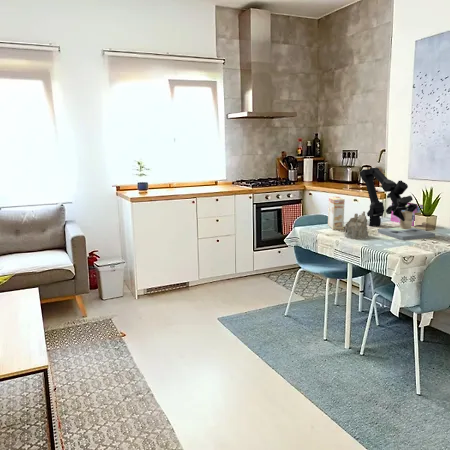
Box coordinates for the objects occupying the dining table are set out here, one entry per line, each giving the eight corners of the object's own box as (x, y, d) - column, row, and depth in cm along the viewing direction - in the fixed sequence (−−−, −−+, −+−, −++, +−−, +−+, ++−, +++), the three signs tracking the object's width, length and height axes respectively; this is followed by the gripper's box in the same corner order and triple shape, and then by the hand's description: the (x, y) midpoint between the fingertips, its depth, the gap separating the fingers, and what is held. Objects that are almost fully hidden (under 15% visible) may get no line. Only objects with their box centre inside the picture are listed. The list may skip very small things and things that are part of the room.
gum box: (388, 220, 297) (389, 201, 294) (398, 219, 299) (399, 200, 297) (413, 226, 275) (415, 205, 272) (423, 225, 277) (425, 205, 274)
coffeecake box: (343, 229, 269) (345, 199, 265) (332, 229, 269) (333, 199, 265) (338, 225, 283) (339, 196, 280) (327, 225, 283) (328, 196, 280)
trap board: (377, 232, 259) (378, 229, 259) (408, 229, 265) (408, 226, 265) (402, 239, 238) (402, 236, 238) (435, 236, 245) (435, 233, 244)
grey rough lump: (353, 231, 263) (354, 207, 259) (373, 237, 249) (374, 212, 245) (334, 235, 256) (334, 211, 252) (353, 242, 242) (354, 216, 238)
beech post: (399, 227, 253) (400, 211, 251) (406, 227, 254) (407, 210, 252) (404, 229, 249) (406, 212, 247) (411, 228, 250) (412, 212, 248)
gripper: (390, 191, 248) (401, 213, 240) (416, 190, 253) (428, 211, 245) (380, 203, 257) (391, 224, 249) (406, 201, 262) (417, 222, 254)
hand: (407, 220), depth 249 cm, fingers closed on beech post, 4 cm apart
